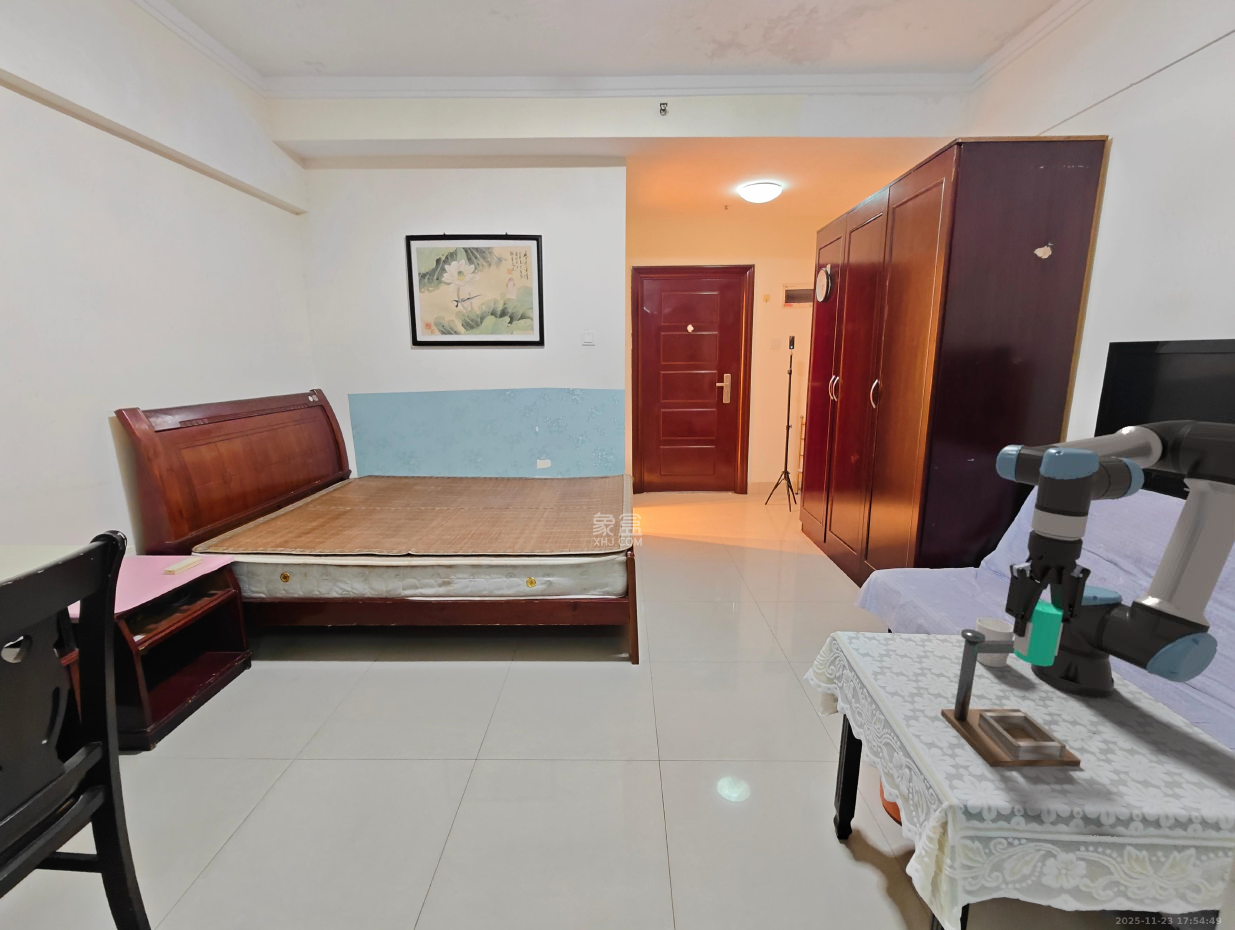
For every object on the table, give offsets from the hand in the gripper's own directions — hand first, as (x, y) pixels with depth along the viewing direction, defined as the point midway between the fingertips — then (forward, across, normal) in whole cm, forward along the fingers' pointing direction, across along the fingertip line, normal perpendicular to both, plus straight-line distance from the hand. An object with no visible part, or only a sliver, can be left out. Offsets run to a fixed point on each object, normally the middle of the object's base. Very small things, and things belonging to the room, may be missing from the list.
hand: (1034, 651), depth 100 cm
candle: (+2, 0, 0) cm, 2 cm away
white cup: (+21, -17, -31) cm, 41 cm away
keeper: (+19, 0, -7) cm, 20 cm away
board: (+21, 0, -2) cm, 21 cm away
